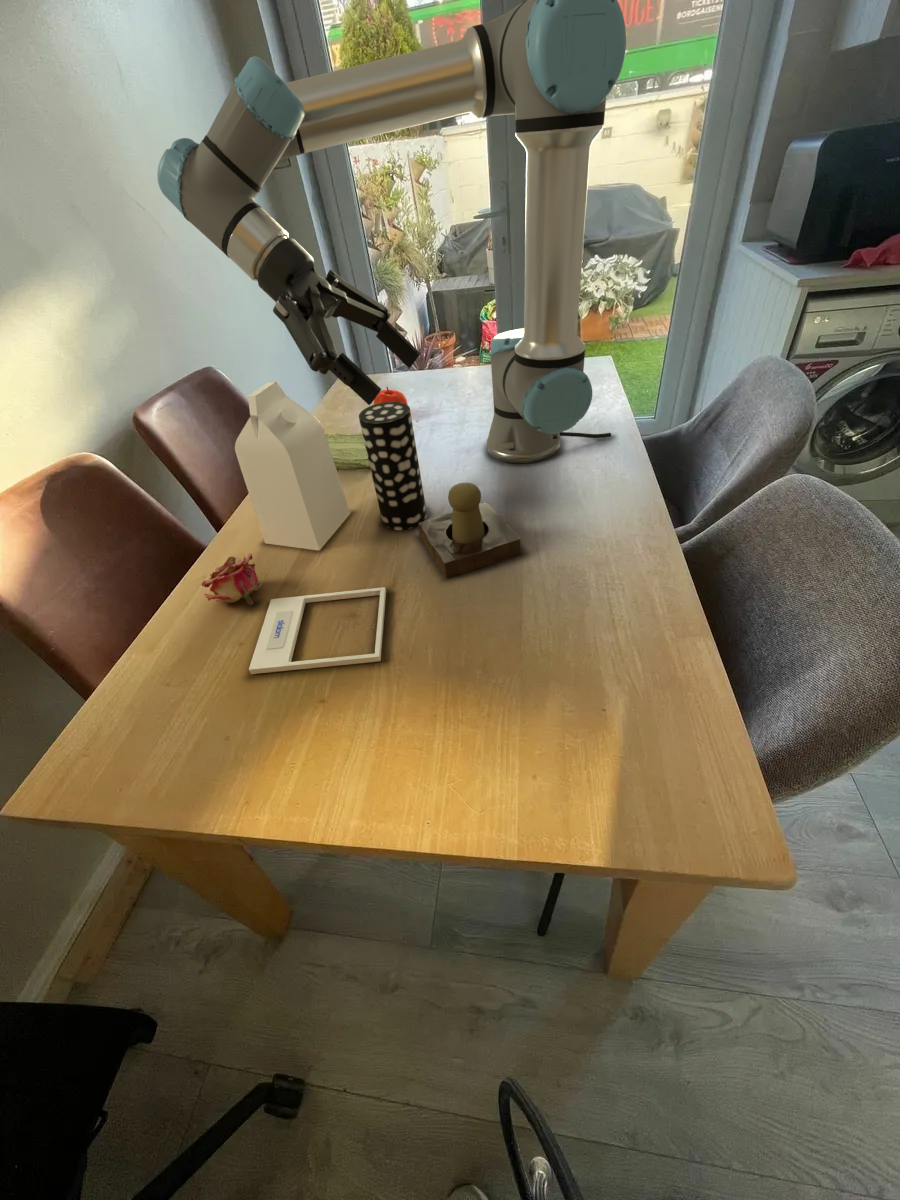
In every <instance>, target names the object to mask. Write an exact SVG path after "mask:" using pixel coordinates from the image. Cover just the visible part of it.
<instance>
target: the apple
mask: <svg viewBox="0 0 900 1200" xmlns="http://www.w3.org/2000/svg"><path fill="white" fill-rule="evenodd" d="M384 402H401V403H405V404H407V405H408V400H407V397H406V396H405V394H404V393H403V392H401V391H400V390H396V389H389V387H388V386H386V389H382V390H381V391H380V392H379V394H378V395H377V396H376V398H375V399H374V401H373V405H375V404H379V403H384ZM408 406H409V405H408Z"/></svg>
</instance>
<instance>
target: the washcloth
mask: <svg viewBox="0 0 900 1200" xmlns="http://www.w3.org/2000/svg"><path fill="white" fill-rule="evenodd" d="M325 436H326V439H327V442H328V445H329V448H330V451H331V454H332V457H333V460H334V463H335V466H336V470H339V469H340V470H348V469H349V470H352V469H366V468H367V469H368V468H369V469H370V465H369V460H368V456H367V451H366V447H365V442H364V438H363V434H362V433H351V434H348V433H337V432H336V433H325Z"/></svg>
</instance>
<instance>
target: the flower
mask: <svg viewBox="0 0 900 1200" xmlns="http://www.w3.org/2000/svg"><path fill="white" fill-rule="evenodd" d="M252 560H253V554H252V553H248V554H247V556H245V555H244V556H243V558H242V559H241V558H240V557H235V556H229V557H228V558H227V559H226V561H224V563H223V564H222V565H221V566H219V567H216V568H215V569H214V571H213V572H211V573H209V576H210V577H209V578H208V579H206V580H204V581H202V583H201V586H202V587H204V588H209V592H212V593H213V594H208V593H203V594H204V597H205V598H206V599H207V601H209V602H210V601H211V600H217V602H220V601H221V602H224V603H232V604H233V603H236V602H237V601H239V600H240V599H241V598H242V599H244V600H245V601H246V602H247V603H248V605H249V606H250V607H251V606H253V605H254V604H255V602H254V601H253V599H252V597H251V596H250V595H251V594H252V593H253V592H254V591H258V590H259V591H260V590H261V587H262V586H263V584H264V581H265V580H266V577H267V576H268V574H266V575H265V576H264V578H263V580H262V582H261V583H260V584H259V578H258V576H257V573H256V569H255V568H256V563H253V562H252V563H249V562H250V561H252Z"/></svg>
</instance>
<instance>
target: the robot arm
mask: <svg viewBox="0 0 900 1200" xmlns="http://www.w3.org/2000/svg"><path fill="white" fill-rule="evenodd" d="M626 48H627V30H626V23H625V17H624V13H623V10H622V9H621V5H620V3H619V1H618V0H524V1H523V2H521V3H519V4H518V5H516V6H515V7H514V8H512V9H510V10H508V11H507V12H505V13H503V14H502V15H499V16H498V17H496V18H494V19H491V20H489V21H486V22H483V23H480V24H476V25H473V26H468V27H467V28H466V30H465V32H464V34H463V36H462V38H461V39H459V40H454V41H451V42H447V43H442V44H438V45H435V46H431V47H426V48H422V49H417V50H414V51H410V52H406V53H402V54H398V55H394V56H389V57H386V58H382V59H377V60H374V61H370V62H365V63H361V64H358V65H353V66H349V67H345V68H341V69H336V70H334V71H333V70H332V71H328V72H325V73H321V74H317V75H312V76H308V77H305V78H300V79H297V80H291V81H288V82H284V80H283V79H282V78H281V77H280V76H279V75H278V74H277V73H276V72H275V71H274V69H272V67H270V65H269V64H268V63H266V61H264V60H263V59H262V58H261V57H259V56H255V55H254V56H251V57H249V58H248V60H247V61H246V63H245V64H244V66H243V68H242V69H241V72H239V73H238V74H237V75H235V76H236V77H235V78H234V82H233V84H232V85H231V88H230V90H229V92H228V94H227V96H226V97H225V99H224V101H223V102H222V105H221V106H220V109H219V111H218V113H217V114H216V116H215V118H214V120H213V122H212V124H211V126H210V128H209V129H208V132H207V133H206V134H205V135H204V137H203V139H202V140H201V141H200V143H198V142H196V141H194V140H193V139H191V138H188V137H182V138H181V137H180V138H178V139H176V140H174V141H173V142H172V144H171V146H170V148H166V149H165V150H164V152H163V154H162V156H161V158H160V160H159V162H158V166H157V177H156V178H157V183H158V187H159V189H160V191H161V193H162V195H163V196H164V197H166V199H167V200H168V201H169V202H170V203H171V204H172V205H173V207H175V208H176V209H177V210H178V211H179V212H180V213H181V215H182V216H183V218H184V219H185V220H186V221H188V222H189V223H190V224H191V225H193V226H194V227H195V228H196V229H197V230H198V231H199V232H200V233H201V234H202V235H203V236H204V237H206V239H208V241H210V242H211V243H212V244H213V245H214V246H216V247H217V248H218V249H219V251H221V252H222V253H223V254H224V255H225V256H226V257H227V258H228V259H230V260H231V261H232V262H233V263H234V264H235V265H236V266H237V267H239V268H240V270H241V271H243V272H244V273H245V274H246V275H247V276H248V277H249V278H250V279H251V280H252V281H254V282H257V285H258V287H259V288H260V289H261V290H262V291H263V292H265V294H266V295H268V296H269V298H270V299H272V301H274V302H275V304H274V306H273V308H272V312H273V314H274V315H275V316H276V317H277V318H278V319H279V320H280V321H281V322H282V323H283V325H284V326H285V328H286V330H287V331H288V333H289V335H290V336H291V338H292V340H293V341H294V343H295V345H296V346H297V348H298V350H299V351H300V353H301V355H302V357H303V358H304V360H305V362H306V363H307V365H308V367H309V369H310V370H311V371H313V372H319V373H320V374H322V375H327V374H328V372H329V371H330V372H331V373H332V374H333V375H334V376H335V377H336V378H338V380H339V381H341V382H342V383H343V384H344V385H345V386H347V387H349V388H350V390H352V391H353V392H354V393H355V394H356V395H357V396H359V398H360V399H361V400H362V401H364V403H366V405H368V406H371V405H372V403H374V399H375V398H376V396H377V395H378V394H379V392H380V391H382V390H383V389H382V388H381V387H380V386H379V385H378V384H376V382H375V381H373V379H371V377H369V376H368V375H367V374H366V373H365V372H364V371H363V370H362V369H361V368H360V366H359V367H358V365H357V364H355V362H354V361H352V360H351V359H350V358H349V357H348V356H347V355H346V354H345V353H344V352H341V353H340V354H339V355H338V351H337V350H336V349H337V348H336V346H335V343H334V341H333V338H332V336H331V333H330V330H329V328H328V325H327V322H326V319H330V318H331V317H333V318H334V319H335V318H336V319H337V318H339V317H341V318H343V319H345V320H348V321H350V322H352V323H355V324H357V325H359V326H361V327H365V328H367V329H368V330H371V331H373V332H376V333H377V334H376V335H375V337H376V338H377V339H378V340H379V341H380V342H381V343H382V344H383V345H384V346H385V347H386V348H387V349H389V351H390V352H392V354H393V355H394V356H395V357H397V359H399V361H400V362H402V363H403V365H405V366H406V367H407V368H408V369H410V368H411V367H413V365H414V364H415V363H416V361H417V359H418V358H419V357H420V356H421V354H422V353H421V352H420V351H419V350H418V349H417V348H416V347H415V346H414V345H413V344H412V343H411V342H410V341H409V340H408V339H407V338H406V337H405V336H404V335H403V334H402V333H401V332H400V331H398V329H396V327H394V325H392V323H390V322H389V319H390V318H391V316H392V314H391V310H390V309H389V307H387V306H385V305H384V304H383V303H381V302H379V301H378V300H376V299H375V298H373V297H371V296H370V295H368V294H367V293H365V292H363V291H361V290H360V289H359V288H357V287H356V286H354V285H352V284H351V283H349V282H347V280H344V278H342V276H340V275H339V274H338V273H337V272H335V271H334V270H333V269H329V270H328V272H327V274H326V275H325V277H323V276H321V275H319V274H318V273H317V272H316V270H315V268H314V267H315V259H314V257H313V256H312V255H311V254H310V253H309V252H308V251H307V250H306V249H305V248H304V247H303V246H302V245H301V244H300V243H299V242H298V241H297V240H296V239H295V238H292V237H290V235H289V232H288V231H287V230H286V229H285V228H284V227H283V226H281V224H280V223H278V222H277V221H276V220H275V219H274V218H273V217H272V215H270V214H269V213H268V212H267V211H266V210H265V209H264V208H263V207H262V206H261V205H260V204H259V203H258V202H257V201H256V200H255V199H256V198H257V196H258V194H260V192H261V189H262V187H263V185H264V184H265V182H266V181H267V179H268V178H269V176H270V175H271V173H272V172H273V170H274V168H275V167H276V166H277V164H278V162H279V161H281V160H285V159H289V158H293V157H296V156H301V155H303V154H307V153H312V152H315V151H320V150H323V149H327V148H332V147H335V146H339V145H344V144H347V143H351V142H355V141H359V140H360V141H361V140H364V139H367V138H372V137H376V136H380V135H384V134H388V133H392V132H397V131H401V130H404V129H408V128H412V127H417V126H420V125H424V124H428V123H433V122H437V121H440V120H445V119H449V118H453V117H456V116H461V115H465V114H471V115H472V116H473V117H474V118H476V120H482V119H487V118H490V117H495V116H504V115H506V116H507V115H515V116H514V117H515V120H514V121H515V123H514V125H515V127H514V128H515V129H514V130H515V137H516V138H517V140H518V141H519V142H520V144H521V145H522V146H523V147H524V149H525V153H526V155H525V156H526V157H525V158H526V159H525V161H526V162H525V220H524V221H525V223H524V224H525V227H524V231H525V232H524V233H525V234H524V236H525V237H524V302H523V303H524V304H523V328H517V329H512V330H507V331H504V332H501V333H498V334H496V335H495V336H493V338H492V339H491V341H490V353H489V358H490V365H491V367H490V369H491V384H492V399H493V400H492V401H493V416H492V421H491V424H490V428H489V431H488V432H489V433H488V436H487V440H486V445H487V451H488V454H489V455H490V456H491V457H492V458H493V459H496V460H498V461H501V462H503V463H509V464H530V463H535V462H539V461H543V460H546V459H548V458H550V457H552V456H553V455H555V454H556V453H557V452H558V451H559V449H560V447H561V437H574V438H586V439H587V438H588V439H604V438H610V437H612V433H611V432H604V433H586V432H570V431H568V430H570V429H571V428H573V427H574V426H576V425H577V423H579V421H580V420H583V418H584V417H585V416H586V414H587V412H588V410H589V409H590V406H591V404H592V401H593V386H592V383H591V381H590V378H589V376H588V375H587V374H586V373H585V372H584V368H585V356H586V343H585V342H584V341H583V340H582V339H581V338H580V336H579V335H578V324H579V323H578V322H579V309H580V307H579V306H580V297H581V296H580V295H581V282H582V281H581V280H582V267H583V254H584V243H585V242H584V241H585V239H584V238H585V228H586V227H585V226H586V214H587V201H588V199H587V197H588V185H589V172H590V171H589V170H590V157H591V147H592V144H593V142H594V141H595V139H596V138H597V137H598V136H599V134H600V133H601V132H602V130H603V129H604V127H605V117H606V105H607V97H608V96H609V94H610V93H611V91H612V90H613V88H614V86H615V85H616V84H617V82H618V79H619V77H620V74H621V72H622V69H623V65H624V61H625V56H626V51H627V50H626ZM567 431H568V432H567Z"/></svg>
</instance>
